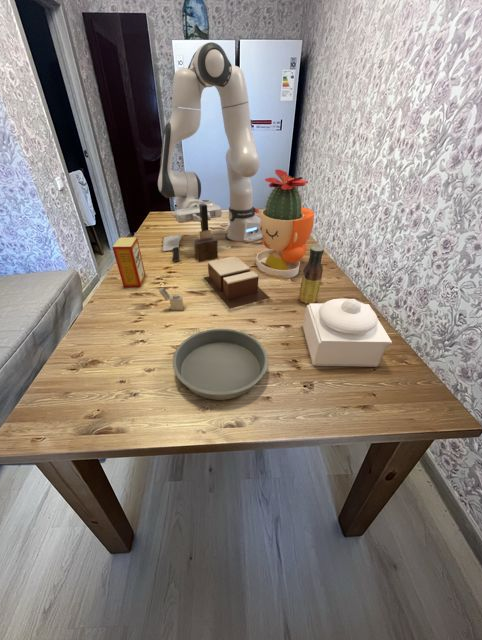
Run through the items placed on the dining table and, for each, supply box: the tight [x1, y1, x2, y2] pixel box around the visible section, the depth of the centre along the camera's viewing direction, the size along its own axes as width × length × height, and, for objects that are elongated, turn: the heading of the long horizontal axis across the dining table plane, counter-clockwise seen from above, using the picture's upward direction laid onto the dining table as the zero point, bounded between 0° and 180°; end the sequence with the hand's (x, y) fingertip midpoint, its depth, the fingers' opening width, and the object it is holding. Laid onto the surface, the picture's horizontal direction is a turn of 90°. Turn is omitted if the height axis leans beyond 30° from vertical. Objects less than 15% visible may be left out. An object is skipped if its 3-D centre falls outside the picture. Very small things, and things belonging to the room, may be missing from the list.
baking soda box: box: [111, 236, 147, 288], centre depth 108 cm, size 10×6×16 cm
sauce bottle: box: [298, 245, 325, 305], centre depth 94 cm, size 6×6×20 cm
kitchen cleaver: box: [162, 234, 184, 263], centre depth 137 cm, size 31×2×10 cm
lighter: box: [158, 287, 185, 311], centre depth 96 cm, size 7×2×8 cm, turn 91°
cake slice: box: [223, 270, 260, 299], centre depth 102 cm, size 4×12×7 cm, turn 115°
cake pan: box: [172, 328, 269, 401], centre depth 75 cm, size 25×25×4 cm
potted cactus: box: [255, 168, 315, 279], centre depth 111 cm, size 22×22×35 cm
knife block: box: [193, 236, 219, 263], centre depth 127 cm, size 9×5×8 cm, turn 115°
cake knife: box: [198, 204, 212, 241], centre depth 122 cm, size 3×5×22 cm, turn 115°
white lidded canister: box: [302, 297, 393, 368], centre depth 78 cm, size 18×18×16 cm
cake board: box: [203, 275, 271, 310], centre depth 108 cm, size 25×16×1 cm, turn 25°
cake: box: [207, 256, 251, 291], centre depth 109 cm, size 12×12×7 cm
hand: (204, 219), depth 118 cm, fingers closed on cake knife, 2 cm apart
